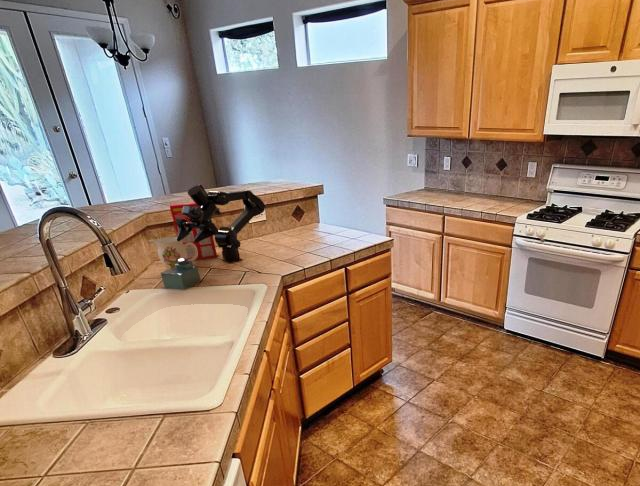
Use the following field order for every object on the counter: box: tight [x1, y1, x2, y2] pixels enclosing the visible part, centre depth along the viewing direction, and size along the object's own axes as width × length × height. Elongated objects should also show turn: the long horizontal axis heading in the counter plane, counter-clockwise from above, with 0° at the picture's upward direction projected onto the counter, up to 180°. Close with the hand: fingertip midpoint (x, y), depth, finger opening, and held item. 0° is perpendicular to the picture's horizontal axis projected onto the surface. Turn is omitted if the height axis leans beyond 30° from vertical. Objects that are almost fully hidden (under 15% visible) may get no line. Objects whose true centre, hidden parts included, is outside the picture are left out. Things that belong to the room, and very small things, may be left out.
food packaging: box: [169, 201, 218, 261], centre depth 199 cm, size 15×5×25 cm, turn 115°
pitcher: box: [147, 236, 198, 271], centre depth 186 cm, size 11×18×14 cm, turn 112°
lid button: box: [178, 258, 189, 265], centre depth 170 cm, size 4×4×2 cm
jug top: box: [160, 261, 201, 291], centre depth 170 cm, size 11×9×8 cm
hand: (186, 241), depth 174 cm, fingers open, 9 cm apart
